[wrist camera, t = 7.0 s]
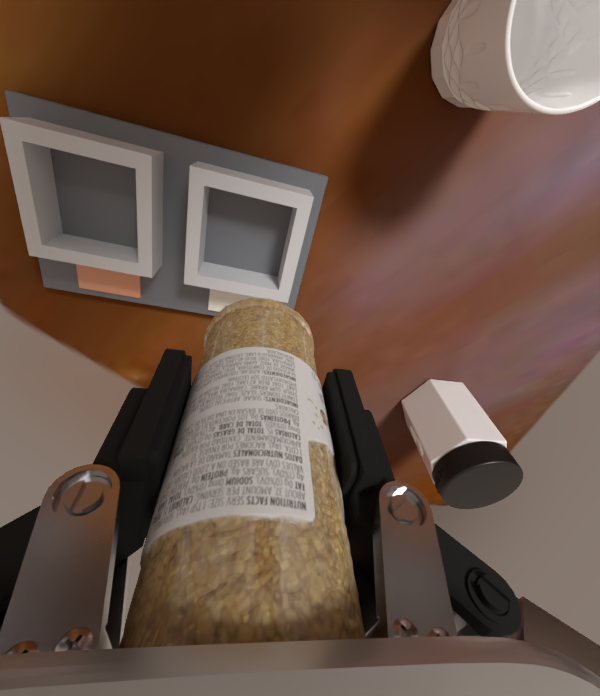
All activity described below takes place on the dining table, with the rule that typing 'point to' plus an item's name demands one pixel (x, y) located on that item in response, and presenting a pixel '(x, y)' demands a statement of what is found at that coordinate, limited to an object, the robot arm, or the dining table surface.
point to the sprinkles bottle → (249, 500)
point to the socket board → (155, 211)
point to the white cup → (518, 55)
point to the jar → (460, 445)
